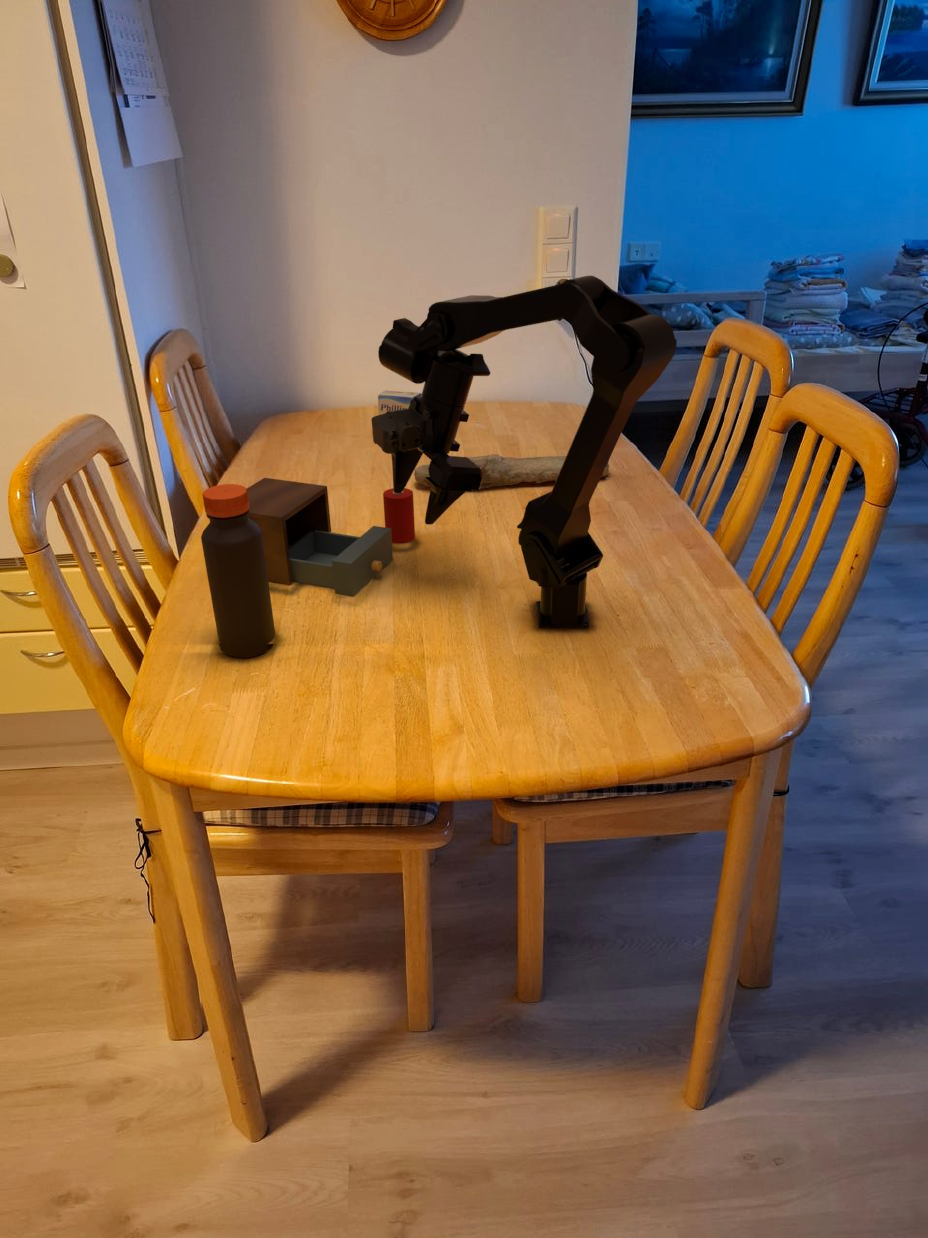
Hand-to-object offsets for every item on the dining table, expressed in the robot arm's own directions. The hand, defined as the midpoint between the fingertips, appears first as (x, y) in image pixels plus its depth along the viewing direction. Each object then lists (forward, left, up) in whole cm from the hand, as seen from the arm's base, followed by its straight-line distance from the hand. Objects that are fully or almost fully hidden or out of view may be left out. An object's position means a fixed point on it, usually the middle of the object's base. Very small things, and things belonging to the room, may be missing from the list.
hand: (412, 507), depth 121 cm
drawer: (-1, +11, -10) cm, 15 cm away
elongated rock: (+38, -15, -10) cm, 42 cm away
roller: (+11, +3, -10) cm, 15 cm away
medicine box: (+64, +7, -10) cm, 65 cm away
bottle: (-19, +19, -10) cm, 29 cm away
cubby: (+2, +19, -10) cm, 22 cm away
